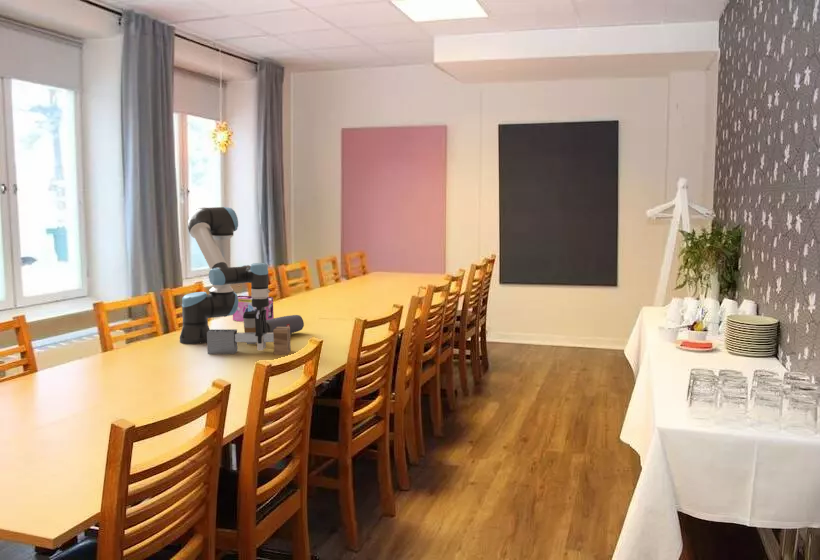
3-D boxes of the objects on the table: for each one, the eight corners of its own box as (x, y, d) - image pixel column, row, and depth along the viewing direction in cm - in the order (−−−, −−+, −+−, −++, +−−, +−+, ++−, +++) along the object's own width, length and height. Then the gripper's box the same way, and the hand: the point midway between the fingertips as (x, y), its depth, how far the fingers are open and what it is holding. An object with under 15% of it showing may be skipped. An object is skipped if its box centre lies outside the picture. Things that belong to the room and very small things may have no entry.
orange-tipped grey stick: (227, 340, 328) (226, 332, 327) (282, 340, 327) (281, 332, 327) (224, 342, 324) (224, 334, 323) (280, 342, 324) (280, 333, 323)
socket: (277, 350, 330) (276, 326, 329) (290, 350, 330) (290, 326, 329) (274, 354, 322) (273, 330, 321) (287, 354, 322) (286, 330, 321)
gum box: (276, 321, 407) (275, 297, 405) (268, 323, 399) (267, 299, 398) (240, 318, 416) (239, 295, 414) (232, 320, 408) (231, 297, 407)
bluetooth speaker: (271, 341, 351) (270, 321, 350) (258, 339, 357) (257, 319, 356) (305, 334, 369) (304, 314, 368) (292, 332, 375) (291, 313, 374)
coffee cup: (257, 345, 341) (256, 314, 339) (240, 344, 343) (239, 313, 341) (264, 342, 349) (263, 311, 348) (248, 341, 351) (247, 310, 349)
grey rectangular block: (211, 351, 329) (210, 329, 328) (237, 351, 329) (236, 329, 328) (207, 354, 323) (206, 332, 322) (234, 354, 323) (233, 332, 322)
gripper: (264, 300, 315) (265, 353, 318) (272, 295, 331) (273, 345, 334) (247, 300, 315) (248, 353, 318) (256, 295, 332) (257, 345, 334)
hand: (261, 349), depth 326 cm, fingers closed on orange-tipped grey stick, 4 cm apart
